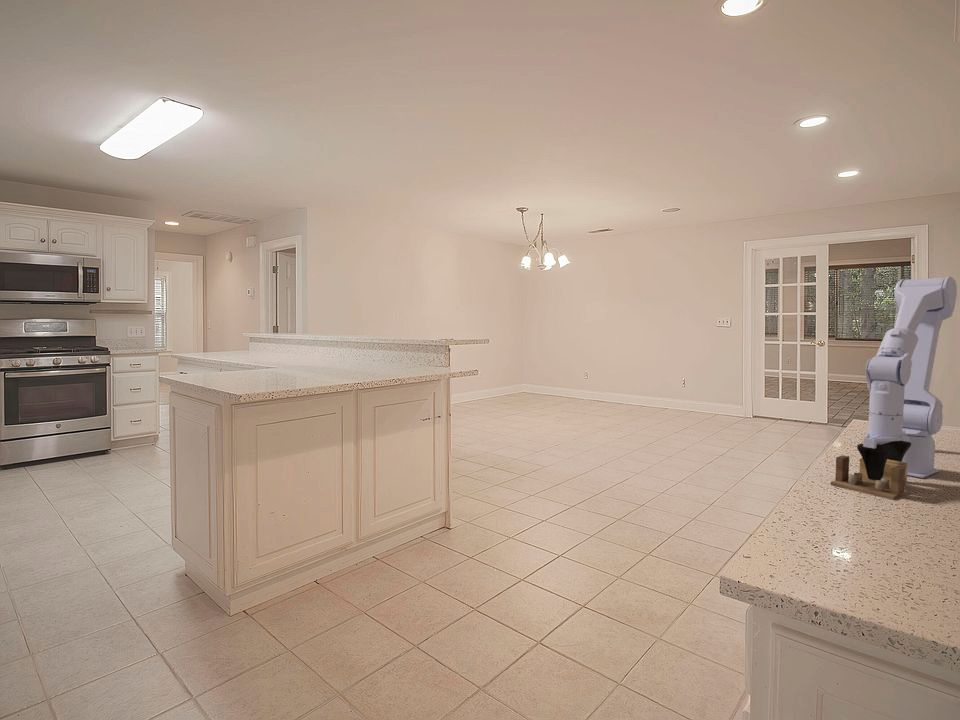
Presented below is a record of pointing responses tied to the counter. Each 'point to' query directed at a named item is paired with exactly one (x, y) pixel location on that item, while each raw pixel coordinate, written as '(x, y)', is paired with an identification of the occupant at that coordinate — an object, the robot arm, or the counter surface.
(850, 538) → the counter surface
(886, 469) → the block
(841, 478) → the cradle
